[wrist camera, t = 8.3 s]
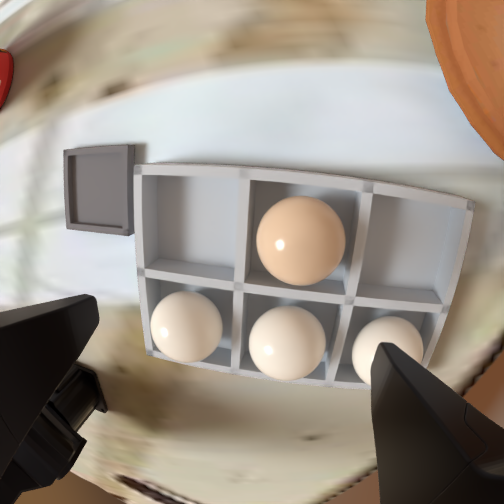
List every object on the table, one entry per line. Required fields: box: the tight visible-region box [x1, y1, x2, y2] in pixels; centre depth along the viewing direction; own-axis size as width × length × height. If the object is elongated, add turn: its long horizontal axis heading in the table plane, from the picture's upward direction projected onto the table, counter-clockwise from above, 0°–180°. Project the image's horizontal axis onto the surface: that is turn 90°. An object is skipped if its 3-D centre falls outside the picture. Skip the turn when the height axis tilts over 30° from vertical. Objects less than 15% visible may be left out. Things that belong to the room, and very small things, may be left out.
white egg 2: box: [249, 305, 326, 381], centre depth 18 cm, size 5×5×5 cm
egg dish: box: [64, 145, 135, 236], centre depth 20 cm, size 6×6×1 cm
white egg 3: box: [352, 316, 423, 386], centre depth 17 cm, size 5×5×5 cm
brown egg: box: [256, 196, 346, 286], centre depth 16 cm, size 5×5×5 cm
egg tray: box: [134, 163, 475, 390], centre depth 19 cm, size 14×20×3 cm
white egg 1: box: [150, 291, 223, 363], centre depth 19 cm, size 5×5×5 cm
